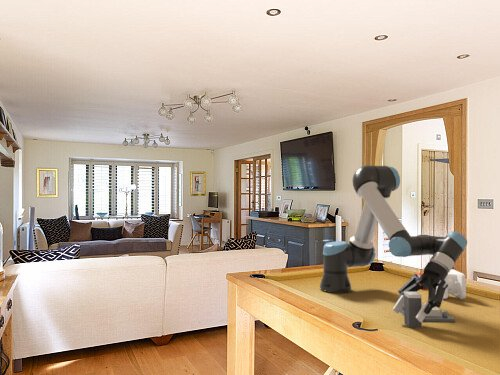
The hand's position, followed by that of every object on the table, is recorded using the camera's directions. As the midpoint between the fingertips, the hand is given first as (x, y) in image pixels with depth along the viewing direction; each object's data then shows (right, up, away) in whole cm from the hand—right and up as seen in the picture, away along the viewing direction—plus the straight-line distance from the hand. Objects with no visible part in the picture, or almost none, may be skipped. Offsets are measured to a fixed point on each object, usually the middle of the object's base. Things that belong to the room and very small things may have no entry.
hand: (406, 315), depth 135 cm
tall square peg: (+3, -4, +1) cm, 5 cm away
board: (+12, -4, +13) cm, 18 cm away
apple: (+31, -6, +59) cm, 67 cm away
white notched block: (+36, -5, +41) cm, 54 cm away
